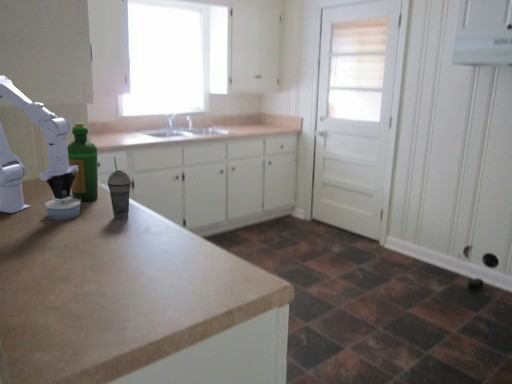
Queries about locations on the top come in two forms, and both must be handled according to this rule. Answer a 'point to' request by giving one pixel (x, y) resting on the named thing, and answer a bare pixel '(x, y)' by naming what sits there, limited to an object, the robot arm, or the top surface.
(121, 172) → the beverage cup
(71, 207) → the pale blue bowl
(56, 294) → the top surface
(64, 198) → the knobbed lid
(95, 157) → the bottle
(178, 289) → the top surface
